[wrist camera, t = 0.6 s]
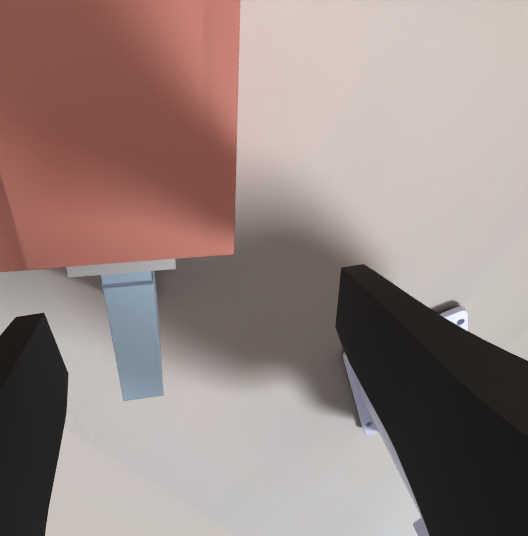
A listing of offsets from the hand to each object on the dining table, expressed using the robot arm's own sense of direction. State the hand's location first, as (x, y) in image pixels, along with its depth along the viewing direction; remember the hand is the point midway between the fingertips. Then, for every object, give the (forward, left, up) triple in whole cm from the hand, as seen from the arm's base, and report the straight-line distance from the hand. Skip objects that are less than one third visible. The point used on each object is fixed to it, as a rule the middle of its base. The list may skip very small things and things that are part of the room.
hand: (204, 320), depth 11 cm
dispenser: (+5, +1, -10) cm, 11 cm away
